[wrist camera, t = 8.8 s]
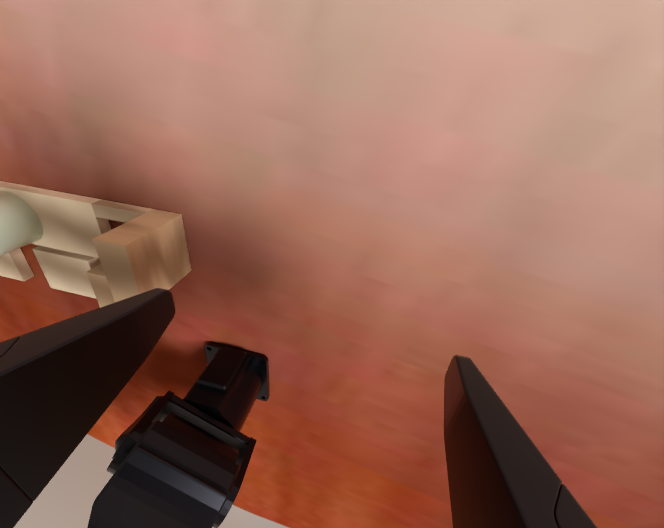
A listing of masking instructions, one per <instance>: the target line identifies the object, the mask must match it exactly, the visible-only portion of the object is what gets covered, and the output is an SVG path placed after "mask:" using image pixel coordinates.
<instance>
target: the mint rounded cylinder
mask: <svg viewBox="0 0 664 528" xmlns="http://www.w3.org/2000/svg"><path fill="white" fill-rule="evenodd" d="M42 235H43V228H42V224H41V222H40V220H39V218H38V216H37V214H36V213H35V212H34V210H33V209H32V208H31V207H30V206H29V205H28V204H27V203H26V202H25V201H24V200H23V199H21V198H20V197H18V196H17V195H15V194H13V193H11V192H8V191H0V256H2V255H4V254H6V253H9V252H11V251H14V250H16V249H18V248H21V247H23V246H25V245H28V244H30V243H33V242H35V241H37V240H39V239H41V237H42Z"/></svg>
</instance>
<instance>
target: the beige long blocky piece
mask: <svg viewBox="0 0 664 528" xmlns="http://www.w3.org/2000/svg"><path fill="white" fill-rule="evenodd" d="M0 191H8V192H11V193H13V194H15V195H17V196H18V197H20V198H21V199H23V200H24V201H25V202H26V203H27V204H28V205H29V206H30V207H31V208H32V209H33V210H34V212H35V213H36V214H37V216H38V218H39V220H40V222H41V224H42V228H43V235H42V237H41V239H39V240H37V241H35V242H33V243H31V244H35V245H40V246H44V247H49V248H54V249H58V250H63V251H68V252H72V253H77V254H81V255H86V256H91V257H95V258H99V259H100V262H101V265H102V268H103V271H104V273H105V276H106V279H107V282H108V284H109V287H110V290H111V293H112V295H113V298H114V301H115V302H118V301H121V300H123V299H126V298H129V297H132V296H135V295H138V294H141V293H143V292H146V291H149V290H152V289H155V288H162V289H167V290H169V289H171V288H172V287H173V286H174V285H175V284H177V283H178V282H179V281H180V280H181V279H182V278H184V277H185V276H186V275H187V274H188V273H189V272H191V271H192V269H191V264H190V258H189V253H188V247H187V242H186V237H185V231H184V226H183V220H182V215H181V214H178V213H173V212H167V211H162V210H157V209H151V208H146V207H140V206H135V205H129V204H124V203H118V202H113V201H107V200H102V199H97V198H91V197H86V196H80V195H75V194H69V193H64V192H58V191H53V190H47V189H42V188H37V187H31V186H26V185H20V184H15V183H9V182H4V181H0ZM108 219H110V220H115V221H120V222H125V223H124V224H122V225H120V226H118V227H116V228H114V229H111V226H110V223H109V220H108Z"/></svg>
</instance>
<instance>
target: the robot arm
mask: <svg viewBox="0 0 664 528" xmlns="http://www.w3.org/2000/svg"><path fill="white" fill-rule="evenodd" d="M174 315H175V305H174V301H173V297H172V293H171V292H170V291H169V290H167V289H162V288H155V289H152V290H149V291H146V292H143V293H141V294H138V295H135V296H132V297H129V298H126V299H123V300H121V301H118V302H115V303H112V304H109V305H106V306H104V307H101V308H98V309H95V310H92V311H89V312H86V313H84V314H81V315H78V316H75V317H72V318H69V319H66V320H64V321H61V322H58V323H55V324H52V325H49V326H46V327H44V328H41V329H38V330H35V331H32V332H29V333H27V334H24V335H22V336H21V337H20V336H18V337H15V338H12V339H9V340H6V341H4V342H1V343H0V528H13V527H14V526H15V525H16V523H17V522H18V521H19V520H20V518H21V517H22V516H23V515H24V513H25V512H26V511H27V509H28V508H29V507H30V506H31V504H32V503H33V501H34V500H35V499H36V498H37V497H38V495H39V494H40V493H41V491H42V490H43V489H44V487H45V486H46V485H47V484H48V483H49V481H50V480H51V479H52V478H53V476H54V475H55V474H56V472H57V471H58V470H59V469H60V467H61V466H62V465H63V464H64V462H65V461H66V460H67V459H68V457H69V456H70V455H71V453H72V452H73V451H74V450H75V448H76V447H77V446H78V445H79V443H80V442H81V441H82V440H83V438H84V437H85V435H86V434H87V433H88V432H89V431H90V429H91V428H92V427H93V426H94V424H95V423H96V422H97V421H98V419H99V418H100V417H101V415H102V414H103V413H104V412H105V410H106V409H107V408H108V407H109V405H110V404H111V403H112V402H113V400H114V399H115V398H116V396H117V395H118V394H119V393H120V391H121V390H122V389H123V388H124V386H125V385H126V384H127V383H128V381H129V380H130V379H131V377H132V376H133V375H134V374H135V372H136V371H137V370H138V369H139V367H140V366H141V365H142V364H143V362H144V361H145V360H146V358H147V357H148V356H149V354H150V353H151V351H152V350H153V348H154V347H155V345H156V344H157V342H158V340H159V339H160V337H161V336H162V334H163V333H164V331H165V330H166V328H167V326H168V325H169V323H170V322H171V320H172V319H173V317H174ZM205 352H206V358H207V363H208V365H207V366H206V368H205V369H204V371H203V372H202V373H201V375H200V376H199V377H198V379H197V381H196V382H195V384H194V385H193V387H192V388H191V389H190V391H189V392H188V393H187V395H186V396H185V398H184V399H181V398H179V397H178V396H176V395H174V394H175V393H173V392H171V391H168V392H167V393H166V395H165V396H157V397H156V398H155V399H154V400H153V402H152V403H151V404H150V405H149V407H148V408H147V409H146V410H145V411H144V412H143V414H142V415H141V416H140V417H139V418H138V419H137V420H136V421H135V422H134V423H133V424H131V425H130V426H129V427H128V428H127V429H126V430H125V431H124V432H123V433H122V434H121V435H120V437H119V438H118V439H117V440H116V442H115V449H116V452H115V454H114V456H113V458H112V459H113V460H112V462H111V463H110V465H109V466H108V468H107V471H108V472H110V473H112V474H114V475H113V476H112V477H111V479H110V480H109V482H108V483H107V484H106V486H105V487H104V488H103V490H102V491H101V492H100V494H99V495H98V496H97V498H96V499H95V501H94V504H93V506H92V511H91V515H90V519H89V524H88V528H212V527H214V528H218V527H219V525H220V524H221V523H222V522H223V520H224V518H225V517H226V515H227V513H228V512H229V510H230V508H231V506H232V504H233V502H234V500H235V498H236V496H237V494H238V492H239V489H240V487H241V484H242V481H243V478H244V475H245V472H246V469H247V467H248V464H249V461H250V458H251V455H252V452H253V449H254V446H255V443H256V440H255V439H253V438H252V437H251V438H249V437H247V436H246V435H244V434H242V433H241V432H240V430H241V428H242V426H243V424H244V422H245V420H246V418H247V416H248V414H249V412H250V410H251V408H252V406H253V404H254V402H255V400H256V399H259V400H263V401H267V400H268V398H269V368H268V358H267V357H266V356H264V355H260V354H256V353H252V352H248V351H244V350H240V349H235V348H231V347H227V346H223V345H219V344H215V343H211V342H208V343H207V344H206V346H205ZM444 441H445V452H446V461H447V471H448V481H449V491H450V501H451V511H452V521H453V528H597V527H596V525H595V524H594V523H593V521H592V520H591V519H590V518H589V516H588V515H587V514H586V512H585V511H584V510H583V508H582V507H581V506H580V505H579V503H578V502H577V501H576V499H575V498H574V497H573V495H572V494H571V493H570V491H569V490H568V489H567V487H566V486H565V485H564V484H562V481H561V479H560V478H559V477H558V475H557V474H556V473H555V471H554V470H553V469H552V467H551V466H550V465H549V463H548V462H547V461H546V459H545V458H544V457H543V455H542V454H541V453H540V451H539V450H538V449H537V447H536V446H535V445H534V443H533V442H532V441H531V439H530V438H529V437H528V435H527V434H526V433H525V431H524V430H523V428H522V427H521V426H520V424H519V423H518V422H517V420H516V419H515V418H514V416H513V415H512V414H511V412H510V411H509V410H508V408H507V407H506V406H505V404H504V403H503V402H502V400H501V399H500V398H499V396H498V395H497V394H496V392H495V391H494V390H493V388H492V387H491V386H490V384H489V383H488V382H487V380H486V379H485V378H484V376H483V375H482V374H481V372H480V371H479V370H478V368H477V367H476V366H475V364H474V363H473V361H472V360H471V359H470V358H468V357H464V356H459V355H455V356H454V357H453V358H452V360H451V363H450V365H449V367H448V370H447V372H446V375H445V386H444Z"/></svg>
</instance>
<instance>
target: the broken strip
mask: <svg viewBox="0 0 664 528" xmlns="http://www.w3.org/2000/svg"><path fill="white" fill-rule="evenodd" d="M32 250H33V252H34V254H35V256H36V258H37V260H38V262H39V264H40V266H41V269H42V271H43V273H44V275H45V277H46V279H47V281H48V283H49V285H50V287H51V288H54V289H58V290H62V291H66V292H70V293H75V294H79V295H83V296H87V297H91V298H96V299H97V301H98V304H99V306H100V308H101V307H104V306H106V305H109V304H112V303H115V301H114V298H113V295H112V293H111V290H110V287H109V284H108V282H107V279H106V276H105V273H104V271H103V268H102V265H101V264H100V261H99V258H95V257H91V256H86V255H81V254H77V253H72V252H68V251H63V250H58V249H54V248H49V247H44V246H38V247H35V248H33V249H32ZM0 276H4V277H8V278H12V279H16V280H20V281H26V280H28V279H30V278H32V277H34V274H33V272H32V270H31V268H30V266H29V264H28V262H27V260H26V258H25V256H24V255H23V253H22V251H21V249H20V248H18V249H16V250H14V251H11V252H9V253H6V254H4V255H2V256H0Z"/></svg>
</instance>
